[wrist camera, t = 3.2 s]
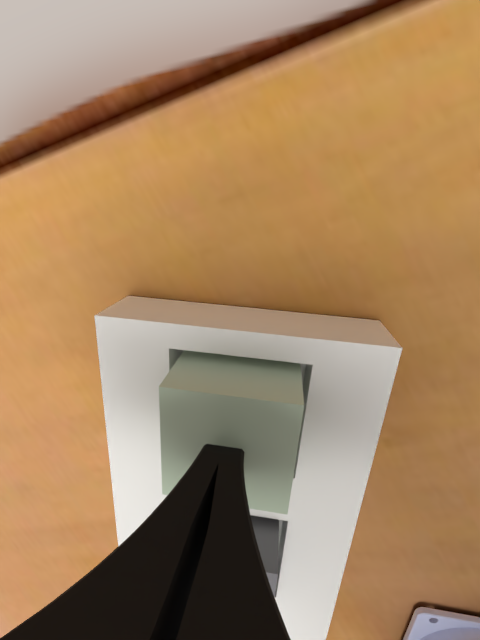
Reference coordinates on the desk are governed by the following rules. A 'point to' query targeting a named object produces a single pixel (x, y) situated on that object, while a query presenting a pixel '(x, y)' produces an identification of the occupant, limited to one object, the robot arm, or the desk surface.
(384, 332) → the keypad
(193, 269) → the desk surface
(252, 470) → the sage key
